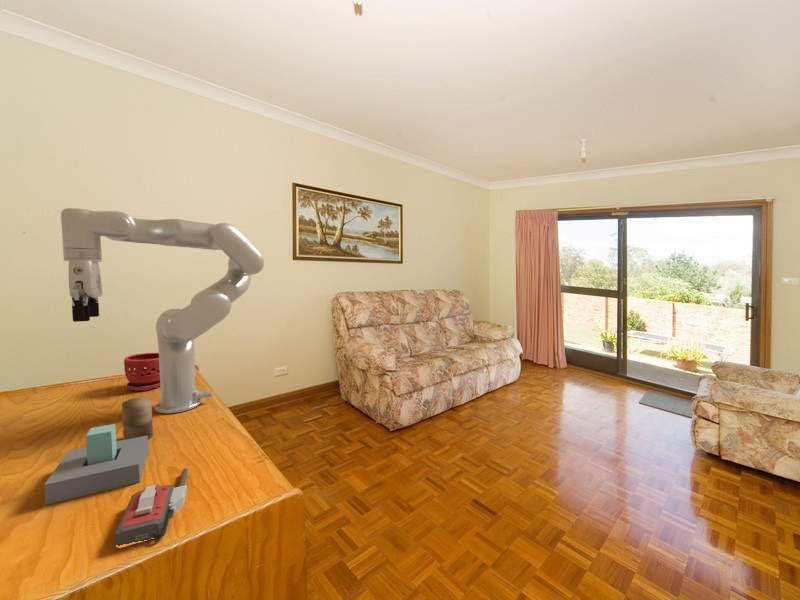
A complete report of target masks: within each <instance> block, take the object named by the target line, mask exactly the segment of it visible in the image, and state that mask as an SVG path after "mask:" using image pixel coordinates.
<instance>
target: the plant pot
mask: <svg viewBox="0 0 800 600" xmlns="http://www.w3.org/2000/svg"><path fill="white" fill-rule="evenodd" d="M123 360H124V362H123V365H124V374H125V377H126V379H127V381H128V382H127V383H126V388H127V389H129V391H130V390H131V391H132V390H134V391H135V392H136V391H137V392H140V391H142V390H143V391H149V389H150V390H153V388H154V389H157V388H160V387H159V386H160V369H159V352H145V353H144V352H143V353H136V354H131V355H127V356H125V357H124V359H123Z"/></svg>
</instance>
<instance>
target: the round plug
mask: <svg viewBox="0 0 800 600" xmlns="http://www.w3.org/2000/svg"><path fill="white" fill-rule="evenodd" d="M152 408H153V407H152V398H151V397H148V396H140V397H134V398H130V399H126V400H124V401H123V402H122V403H121V409H122V410H121V411H122V414H121V415H122V430H123V433H122V435H123V440H126V439H131V438H137V437H142V436H147V435H148V441H149V440H151V439H152V438H153V436H154V434H153V433H154V432H153V431H154V430H153V429H154V428H153V412H152V411H153V409H152Z"/></svg>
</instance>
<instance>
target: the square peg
mask: <svg viewBox="0 0 800 600" xmlns="http://www.w3.org/2000/svg"><path fill="white" fill-rule="evenodd" d="M116 433H117V432H116V423H114V424H113V423H112V424H107V425H100V426H94V427H91V428H90V429H89V430H88V431H87V433H86V435H85V444H86V446H85V447H86V448H87V464H88V465H93V464H97V463H102V462H107V461H112V460H116V459H117V448H116V441H117V434H116Z"/></svg>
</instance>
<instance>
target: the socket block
mask: <svg viewBox="0 0 800 600" xmlns="http://www.w3.org/2000/svg"><path fill="white" fill-rule="evenodd" d="M116 448H117V459H116V460H112V461H107V462H102V463H97V464H93V465H88V464H87V448H86V446H83V447H79V448H74V449H69V450H68V451H67V452H66V454H65V455H64V457H62V459H61V461H60V462H59V464H58V465H57V466H56V468H55V469H54V470H53V472H52V473H51V474H50V476H49V477H48V479H47V480H46V481H45V483H44V484H43V489H44V490H43V491H44V501H45V502H44V503H45V506H47V505H53V504H57V503H61V502H64V501H69V500H73V499H77V498H80V497H81V498H82V497H85V496H91V495H93V494H97V493H102V492H106V491H110V490H114V489H117V488H123V487H127V486H131V485H134V484H138V483H140V482H141V479H142V476H143V472H144V468H145V465H146V461H147V458H148V455H149V440H148V435H147V436H142V437H137V438H131V439H126V440H124V439H121V440H116Z"/></svg>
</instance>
